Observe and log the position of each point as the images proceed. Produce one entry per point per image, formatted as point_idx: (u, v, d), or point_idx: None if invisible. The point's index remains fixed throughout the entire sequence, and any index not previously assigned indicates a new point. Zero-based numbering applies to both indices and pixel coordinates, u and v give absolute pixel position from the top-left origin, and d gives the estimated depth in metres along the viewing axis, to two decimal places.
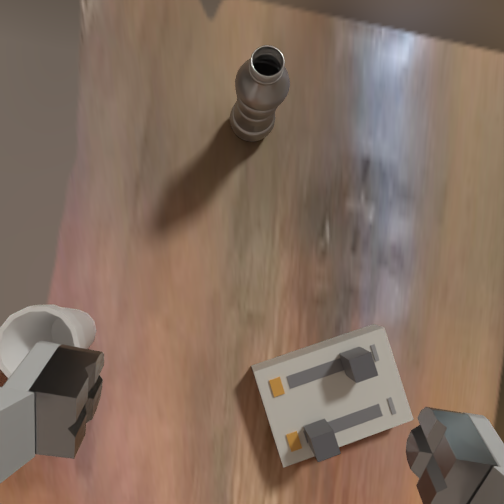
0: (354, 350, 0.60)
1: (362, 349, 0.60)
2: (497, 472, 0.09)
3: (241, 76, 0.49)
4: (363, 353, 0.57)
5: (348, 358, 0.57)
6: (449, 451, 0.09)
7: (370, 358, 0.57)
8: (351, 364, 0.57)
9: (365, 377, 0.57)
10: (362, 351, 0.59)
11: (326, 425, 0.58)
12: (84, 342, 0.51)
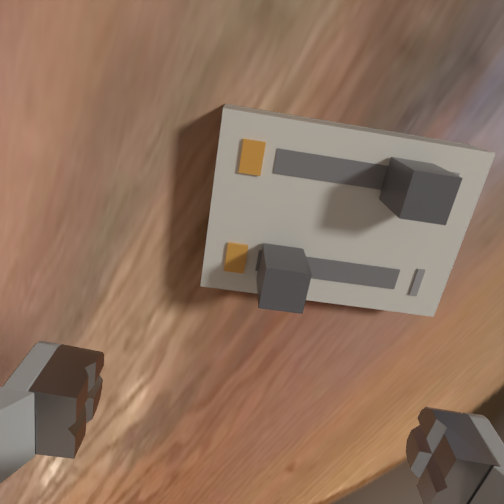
0: (423, 164, 0.30)
1: (440, 168, 0.29)
2: (497, 472, 0.09)
3: None
4: (446, 174, 0.27)
5: (412, 168, 0.27)
6: (449, 451, 0.09)
7: (454, 188, 0.27)
8: (413, 181, 0.27)
9: (421, 217, 0.28)
10: (441, 170, 0.28)
11: (302, 260, 0.31)
12: None
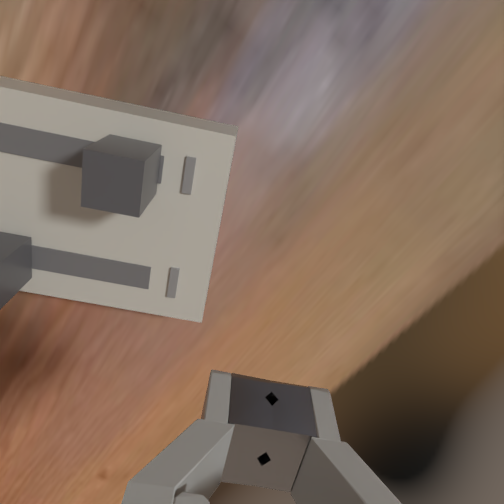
0: (138, 144, 0.25)
1: (150, 150, 0.25)
2: (313, 443, 0.09)
3: None
4: (130, 156, 0.23)
5: (92, 146, 0.23)
6: (271, 422, 0.09)
7: (137, 173, 0.23)
8: (85, 161, 0.22)
9: (107, 206, 0.23)
10: (141, 152, 0.24)
11: (7, 250, 0.27)
12: None
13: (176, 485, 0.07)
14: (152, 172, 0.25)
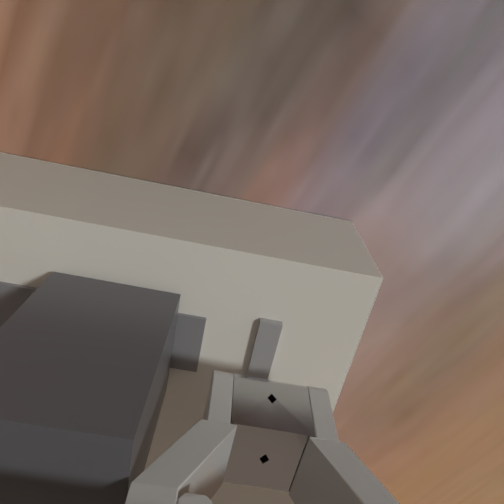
0: (121, 309, 0.10)
1: (153, 337, 0.09)
2: (311, 442, 0.09)
3: None
4: (87, 409, 0.07)
5: None
6: (269, 422, 0.09)
7: (112, 467, 0.07)
8: None
9: None
10: (125, 363, 0.08)
11: None
12: None
13: (179, 486, 0.07)
14: (158, 389, 0.09)
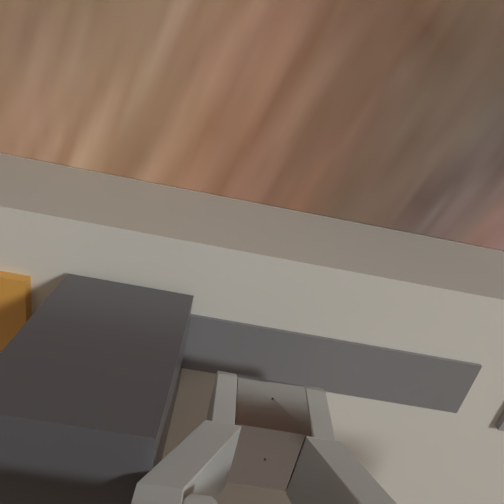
0: (137, 310, 0.10)
1: (169, 338, 0.09)
2: (308, 442, 0.09)
3: None
4: (109, 409, 0.07)
5: None
6: None
7: (134, 466, 0.07)
8: None
9: None
10: (144, 363, 0.08)
11: None
12: None
13: (184, 486, 0.07)
14: (173, 389, 0.10)
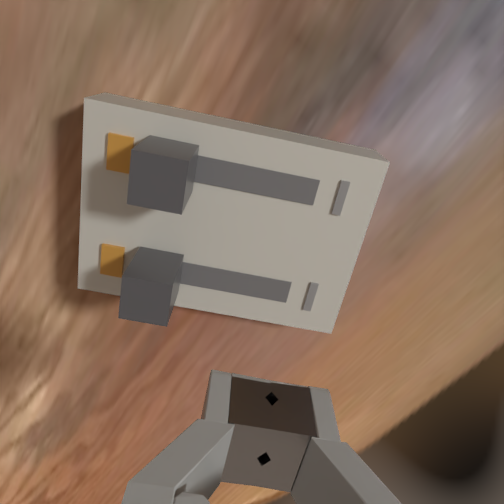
0: (178, 144, 0.27)
1: (191, 150, 0.26)
2: (313, 443, 0.09)
3: None
4: (174, 156, 0.24)
5: (138, 147, 0.24)
6: (271, 422, 0.09)
7: (182, 172, 0.24)
8: (132, 161, 0.24)
9: (151, 203, 0.25)
10: (183, 152, 0.25)
11: (172, 268, 0.29)
12: None
13: (176, 485, 0.07)
14: (192, 171, 0.26)
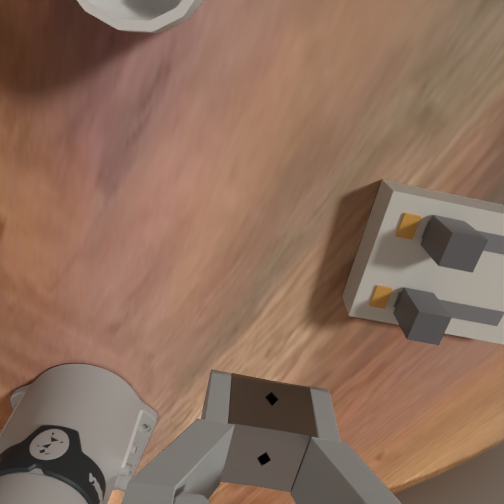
0: (458, 222, 0.39)
1: (471, 228, 0.39)
2: (313, 443, 0.09)
3: None
4: (475, 235, 0.37)
5: (451, 230, 0.37)
6: (271, 422, 0.09)
7: (481, 246, 0.37)
8: (451, 240, 0.36)
9: (455, 265, 0.37)
10: (472, 231, 0.38)
11: (439, 304, 0.42)
12: None
13: (176, 485, 0.07)
14: None
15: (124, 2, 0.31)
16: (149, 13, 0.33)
